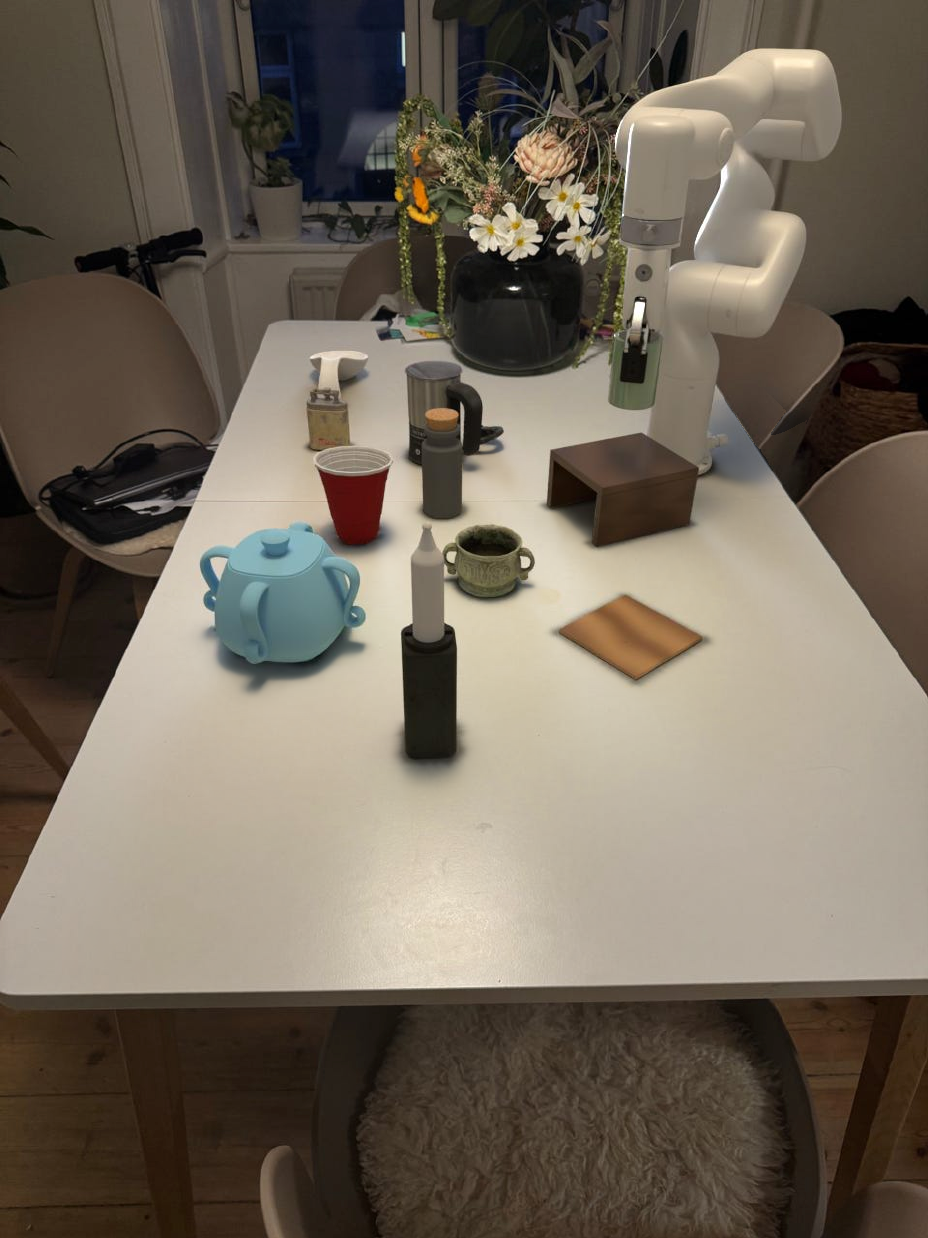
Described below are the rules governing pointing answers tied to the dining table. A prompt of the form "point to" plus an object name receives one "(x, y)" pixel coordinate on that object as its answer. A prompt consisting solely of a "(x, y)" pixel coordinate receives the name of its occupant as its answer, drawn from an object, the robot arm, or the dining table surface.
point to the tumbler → (634, 393)
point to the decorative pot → (281, 595)
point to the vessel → (488, 560)
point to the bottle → (442, 464)
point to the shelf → (624, 485)
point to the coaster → (630, 636)
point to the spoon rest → (337, 368)
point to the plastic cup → (354, 489)
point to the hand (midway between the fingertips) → (634, 371)
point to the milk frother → (444, 405)
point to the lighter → (327, 420)
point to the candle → (429, 659)
